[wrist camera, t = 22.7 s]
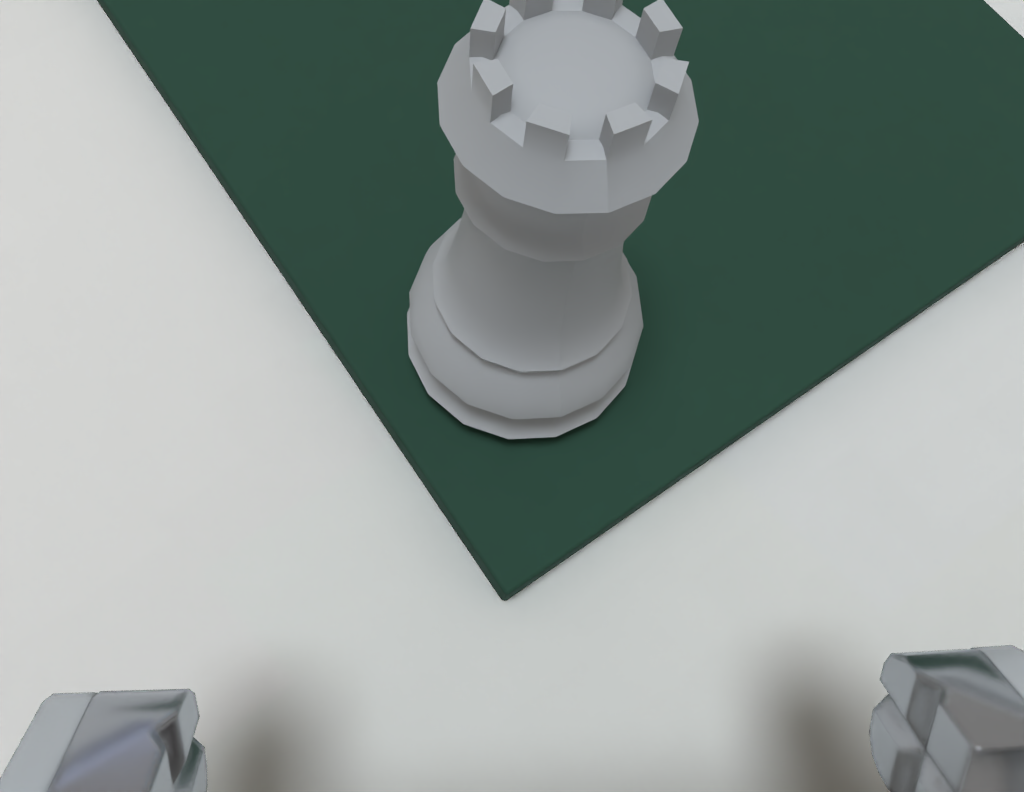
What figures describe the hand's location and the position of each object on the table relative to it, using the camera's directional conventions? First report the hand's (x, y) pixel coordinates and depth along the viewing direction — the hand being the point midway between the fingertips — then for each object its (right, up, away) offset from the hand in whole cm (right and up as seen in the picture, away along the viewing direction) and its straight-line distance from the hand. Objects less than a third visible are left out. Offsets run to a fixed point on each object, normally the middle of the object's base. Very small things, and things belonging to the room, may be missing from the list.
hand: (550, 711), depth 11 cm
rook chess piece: (0, +5, +7) cm, 9 cm away
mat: (+1, +12, +11) cm, 16 cm away
